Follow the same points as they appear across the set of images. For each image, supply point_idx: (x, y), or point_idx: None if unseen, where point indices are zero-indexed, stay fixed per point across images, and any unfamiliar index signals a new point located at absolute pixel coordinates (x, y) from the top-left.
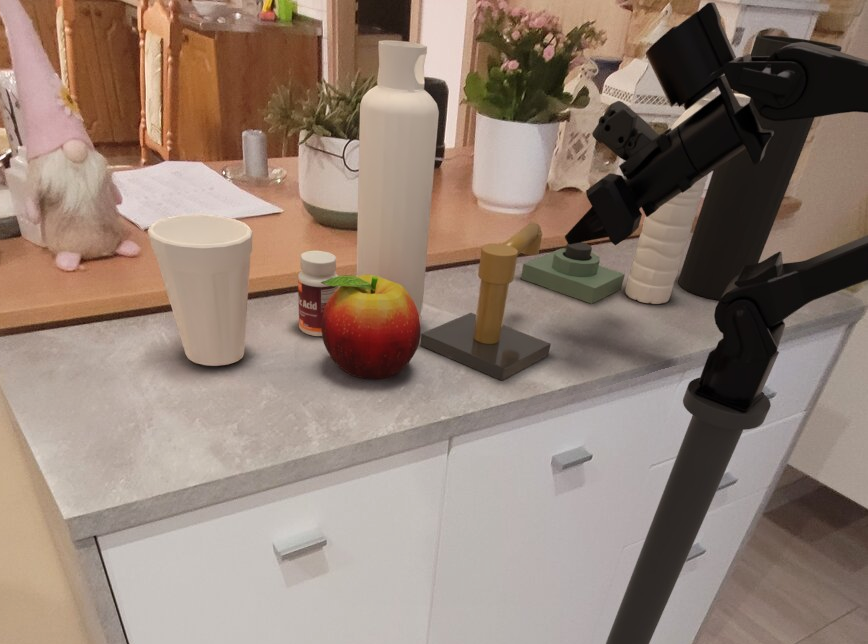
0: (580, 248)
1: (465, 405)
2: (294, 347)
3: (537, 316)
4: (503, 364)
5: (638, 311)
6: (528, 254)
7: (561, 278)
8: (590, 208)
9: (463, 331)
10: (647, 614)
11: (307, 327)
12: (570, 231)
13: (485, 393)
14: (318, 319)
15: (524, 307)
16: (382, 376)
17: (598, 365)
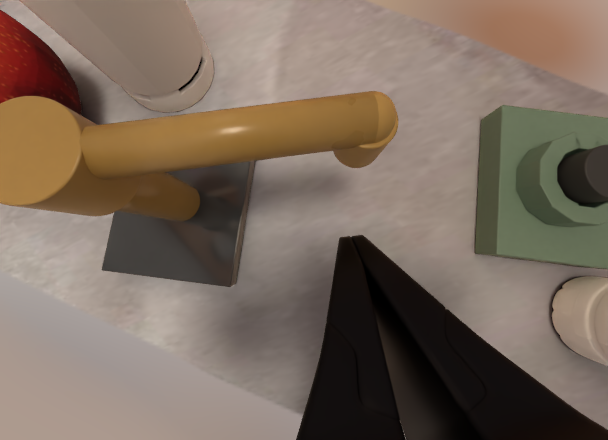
0: (598, 180)
1: (25, 263)
2: (43, 23)
3: (359, 207)
4: (112, 263)
5: (509, 329)
6: (334, 153)
7: (496, 185)
8: (311, 396)
9: None
10: None
11: None
12: (337, 256)
13: (71, 267)
14: None
15: (376, 177)
16: None
17: (257, 357)
